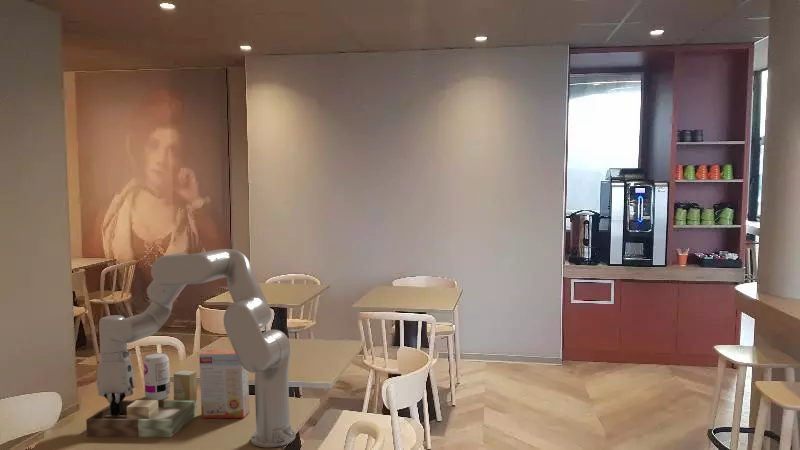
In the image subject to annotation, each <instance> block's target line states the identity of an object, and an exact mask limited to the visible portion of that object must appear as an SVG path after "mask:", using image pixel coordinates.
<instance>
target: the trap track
mask: <svg viewBox="0 0 800 450" xmlns="http://www.w3.org/2000/svg"><path fill="white" fill-rule="evenodd" d="M136 400H137V399H136ZM136 400H135V399H128V400H127V399H123V400H122V412H121V413H120V414H119V415H117V416H115V415H114V416H112V415H111V411H110V404H109V405H107V406H106V407H104V408H103V409H101V410H99V411H98V412H96V413H95V414H93V415H91V416H90V417H88V418H86V420H85V421H86V424H85V425H86V437H114V438H115V437H117V438H118V437H121V438H122V437H123V438H124V437H125V438H126V437H127V438H128V437H129V438H131V437H132V438H133V437H134V438H173V436H174V435H176V434H177V433H178V432H179V431H181V429H182V428H183V426H184V427H185V426H186V425H187V424H188V423H189V422H190V421H192V420H193V419H194V418H195V417H196V415H197V414H196V407H195V401H174V400H171V399H169V400H166V399H163V400H158V410H159V413H158V414H156V415H155V416H154V417H152V418H151V419H127V406H128V405H130V404H132V403H133V402H135V401H136ZM192 418H193V419H192ZM175 433H176V434H175Z"/></svg>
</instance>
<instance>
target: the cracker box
mask: <svg viewBox="0 0 800 450" xmlns="http://www.w3.org/2000/svg"><path fill="white" fill-rule="evenodd" d="M199 379H200V380H199V382H200V384H199V385H200V403H201V405H200V406H201V408H200V409H201V418H202V419H243V418H245V417H246V416H248V414H249V413H250V394H249V393H250V392H249V371H247V370H246V369H245V368H244V367H243V366H242V365H241V363H240V362H239V360H238V358H237V355H236V353H235V351H234V349H206V350H204V351H202V352H201V353H199Z"/></svg>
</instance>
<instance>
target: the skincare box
mask: <svg viewBox="0 0 800 450" xmlns="http://www.w3.org/2000/svg"><path fill="white" fill-rule="evenodd" d="M197 377H198V376H197V371H196V370H195V371H191V370H178V371H177V372H175V373H173V401H195V408H197V407H198V401H197V400H198V398H197V397H198V395H197V394H198V392H197V391H198V390H197V386H198V385H197V384H198V383H197V380H198V379H197Z"/></svg>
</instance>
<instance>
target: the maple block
mask: <svg viewBox="0 0 800 450" xmlns="http://www.w3.org/2000/svg"><path fill="white" fill-rule="evenodd" d="M158 413H159V410H158V400H148V399H136V401H135V402H133V403H132V404H130V405H128V406H127V419H151V418H152V417H154V416H155V415H156V414H158Z"/></svg>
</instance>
